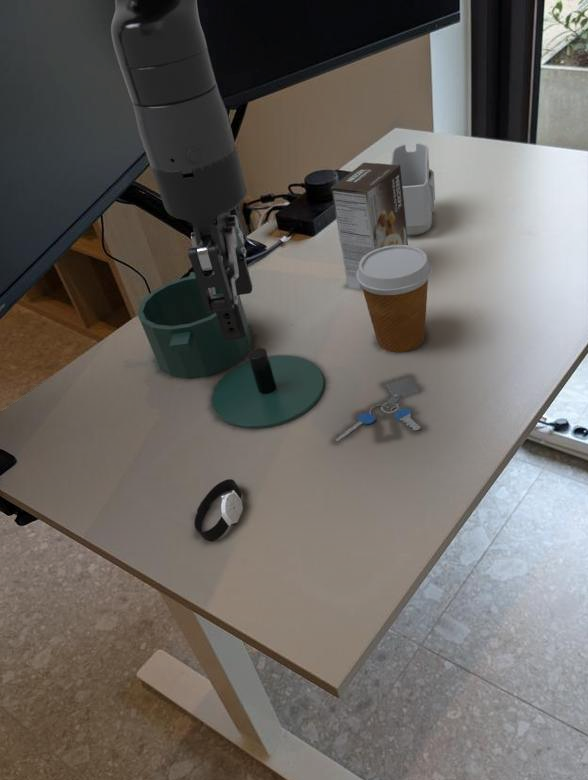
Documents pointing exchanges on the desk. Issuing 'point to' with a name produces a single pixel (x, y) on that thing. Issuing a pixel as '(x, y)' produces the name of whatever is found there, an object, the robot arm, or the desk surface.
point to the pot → (188, 331)
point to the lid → (267, 390)
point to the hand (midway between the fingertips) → (239, 314)
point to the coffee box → (369, 213)
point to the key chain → (397, 391)
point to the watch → (229, 509)
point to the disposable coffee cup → (396, 294)
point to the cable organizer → (416, 187)
